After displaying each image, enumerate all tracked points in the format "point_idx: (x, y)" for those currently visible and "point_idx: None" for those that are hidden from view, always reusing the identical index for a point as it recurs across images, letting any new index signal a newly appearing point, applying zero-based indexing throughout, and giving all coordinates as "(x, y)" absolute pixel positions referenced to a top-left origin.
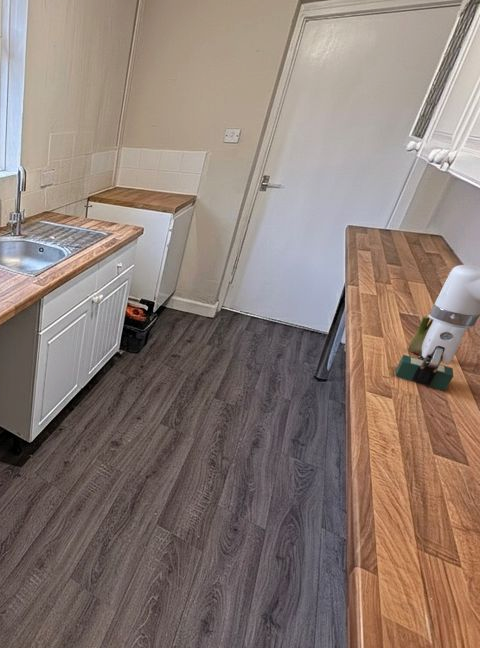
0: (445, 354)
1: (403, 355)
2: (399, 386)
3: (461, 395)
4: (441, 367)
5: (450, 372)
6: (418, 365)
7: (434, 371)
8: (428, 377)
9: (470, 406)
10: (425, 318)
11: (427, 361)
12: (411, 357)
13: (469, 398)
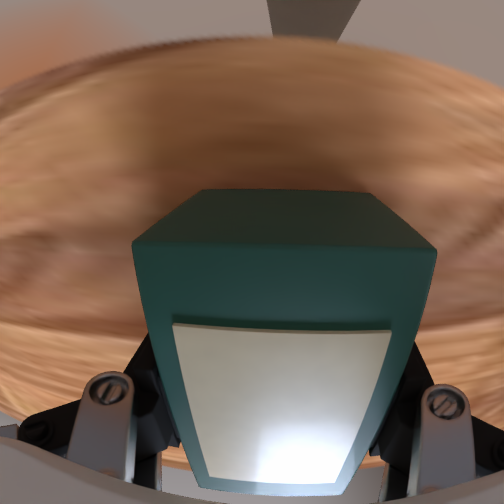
0: None
1: (214, 489)
2: (449, 381)
3: (358, 96)
4: (252, 356)
5: (337, 275)
6: (347, 459)
7: (461, 404)
8: (419, 359)
9: (487, 85)
10: None
11: (179, 418)
12: (212, 475)
13: (368, 56)
